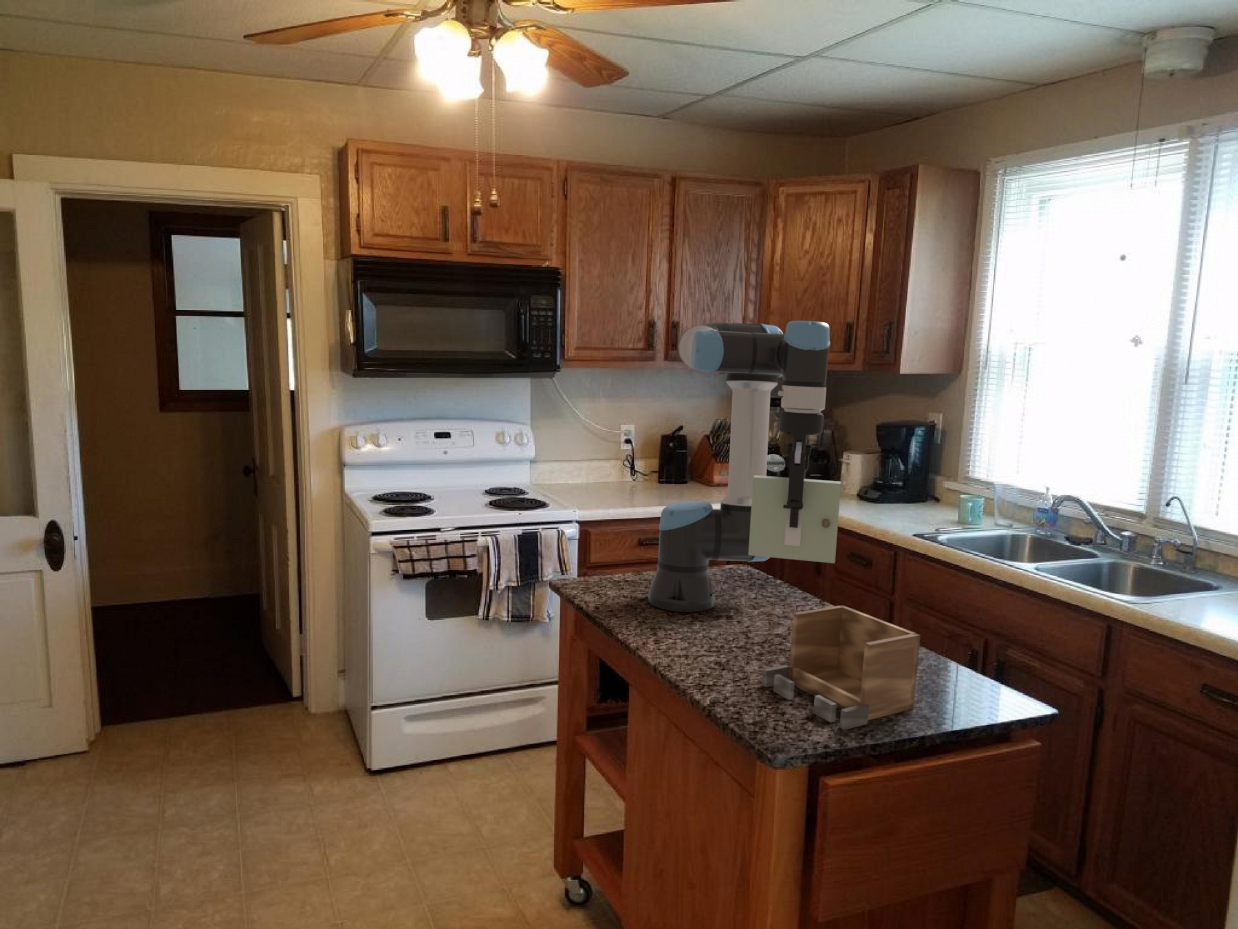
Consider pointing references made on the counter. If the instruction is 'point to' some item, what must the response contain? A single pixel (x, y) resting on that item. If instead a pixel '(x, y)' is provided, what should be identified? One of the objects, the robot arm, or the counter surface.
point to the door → (815, 519)
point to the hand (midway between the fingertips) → (792, 542)
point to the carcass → (849, 665)
